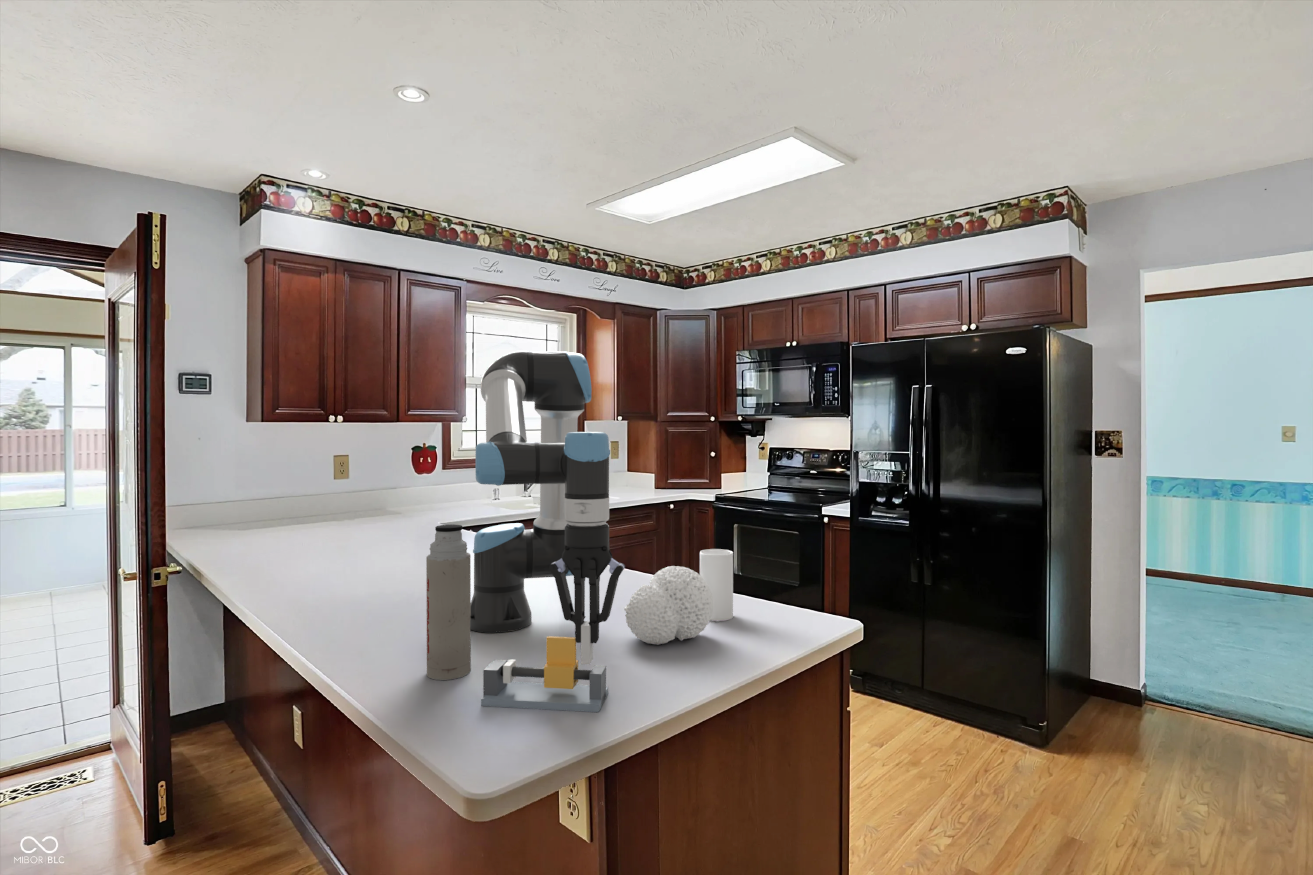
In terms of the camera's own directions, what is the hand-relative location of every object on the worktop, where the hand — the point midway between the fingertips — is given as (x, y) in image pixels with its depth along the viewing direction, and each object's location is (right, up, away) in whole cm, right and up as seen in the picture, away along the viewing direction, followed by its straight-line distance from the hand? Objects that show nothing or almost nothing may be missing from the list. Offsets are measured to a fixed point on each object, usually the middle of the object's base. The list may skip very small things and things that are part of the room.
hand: (587, 661), depth 113 cm
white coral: (+15, -7, +33) cm, 37 cm away
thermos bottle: (-28, -7, +13) cm, 31 cm away
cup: (+27, -7, +52) cm, 59 cm away
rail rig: (-7, -7, +1) cm, 10 cm away
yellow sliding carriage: (-4, -4, 0) cm, 6 cm away
